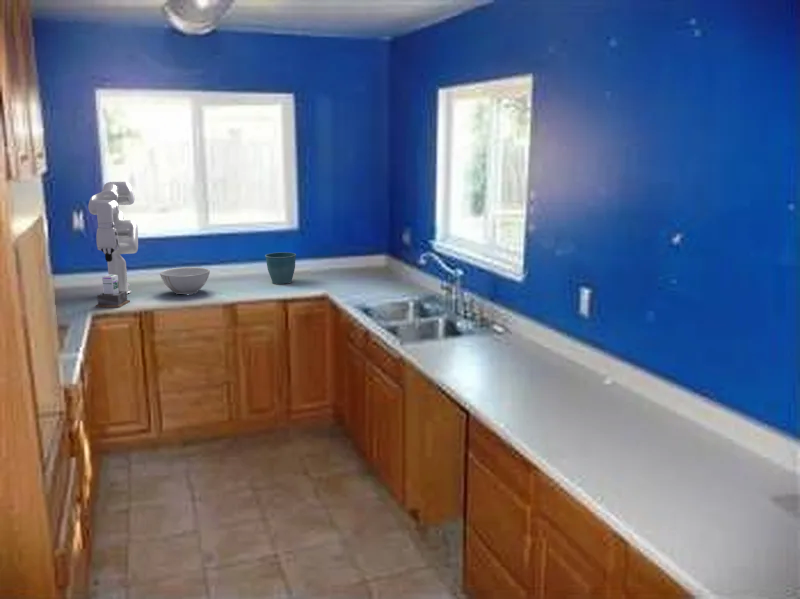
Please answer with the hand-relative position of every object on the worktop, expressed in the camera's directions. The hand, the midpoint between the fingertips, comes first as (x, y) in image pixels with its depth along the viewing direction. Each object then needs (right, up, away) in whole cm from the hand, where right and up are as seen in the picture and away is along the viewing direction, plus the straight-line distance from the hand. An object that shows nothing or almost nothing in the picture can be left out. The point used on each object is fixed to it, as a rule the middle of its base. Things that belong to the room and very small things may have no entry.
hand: (109, 261), depth 372 cm
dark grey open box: (0, -22, +5) cm, 23 cm away
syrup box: (0, -22, +5) cm, 22 cm away
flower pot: (+79, -10, +62) cm, 101 cm away
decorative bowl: (+30, -16, +34) cm, 48 cm away
